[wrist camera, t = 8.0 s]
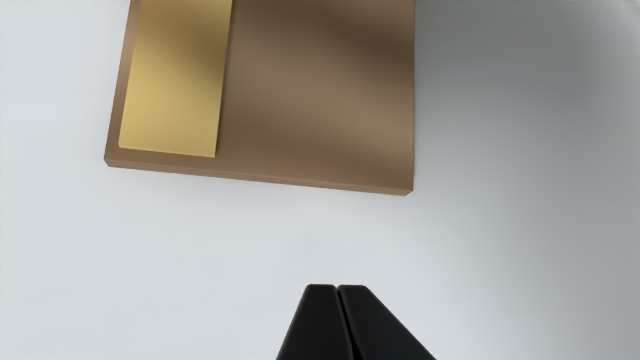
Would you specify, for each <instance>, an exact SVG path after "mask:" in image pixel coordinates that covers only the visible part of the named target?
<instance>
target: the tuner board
mask: <svg viewBox="0 0 640 360" xmlns="http://www.w3.org/2000/svg"><path fill="white" fill-rule="evenodd" d="M414 24H415V0H131V1H130V7H129V13H128V19H127V25H126V31H125V37H124V43H123V49H122V54H121V60H120V66H119V72H118V78H117V84H116V90H115V96H114V102H113V108H112V113H111V119H110V125H109V131H108V137H107V143H106V149H105V155H104V160H105V161H106V163H107V164H108V166H109V167H119V168H129V169H139V170H149V171H159V172H169V173H179V174H189V175H199V176H209V177H219V178H229V179H239V180H249V181H259V182H269V183H280V184H290V185H300V186H310V187H320V188H330V189H340V190H350V191H360V192H370V193H380V194H390V195H400V196H406V195H407V194H409V193H410V192H412V191H413V163H414Z"/></svg>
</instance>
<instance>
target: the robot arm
mask: <svg viewBox="0 0 640 360" xmlns="http://www.w3.org/2000/svg"><path fill="white" fill-rule="evenodd" d="M276 360H436V359H435V358H434V357H433V356H432V355H431V354H430V352H429V351H428V350H427V349H426V348H425V347H424V346H423V345H422V344H421V343H420V342H419V341H418V340H417V339H416V338H415V337H414V336H413V335H412V334H411V333H410V332H409V330H408V329H407V328H406V327H405V326H404V325H403V324H402V323H401V322H400V321H399V320H398V319H397V318H396V317H395V316H394V315H393V314H392V313H391V312H390V311H389V309H388V308H387V307H386V306H385V305H384V304H383V303H382V302H381V301H380V300H379V299H378V298H377V297H376V296H375V295H374V294H373V293H372V292H371V291H370V290H369V289H368V288H367V287H366V286H363V285H339V286H338V287H337V288H336V287H335V286H334V285H331V284H309V285H308V286H307V287H306V288H305V291H304V293H303V295H302V298H301V300H300V303H299V305H298V308H297V310H296V312H295V315H294V317H293V320H292V322H291V324H290V327H289V329H288V332H287V334H286V336H285V339H284V341H283V344H282V346H281V349H280V351H279V353H278V356H277V358H276Z"/></svg>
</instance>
